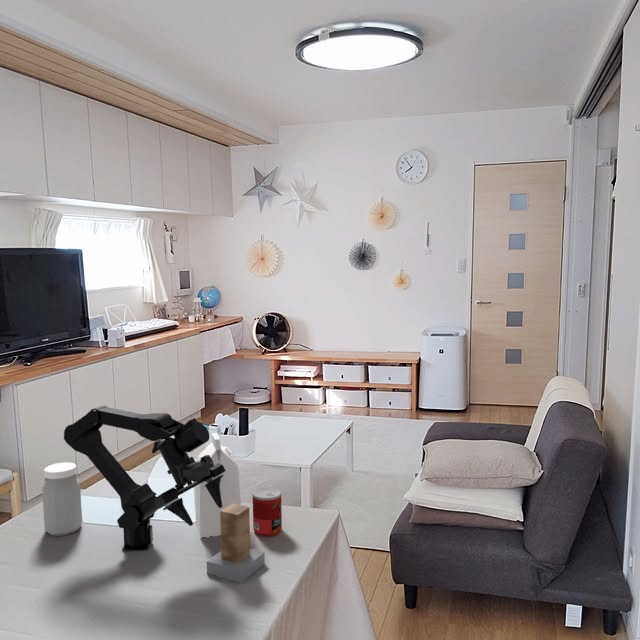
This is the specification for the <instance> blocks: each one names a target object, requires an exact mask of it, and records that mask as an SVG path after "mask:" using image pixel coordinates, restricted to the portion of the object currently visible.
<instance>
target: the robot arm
mask: <svg viewBox="0 0 640 640" xmlns="http://www.w3.org/2000/svg"><path fill="white" fill-rule="evenodd" d="M103 426H108V427H114V428H117V429H124V430H128V431H133V432H135V433H137V434H138V436H140V437H142V438H143V439H146V440H148V441H151V442H153V447H152V449H151V453H152V454H155V453H158V452H159V453H160V454H161V457H162V459H163V460H164V462H165V465H166V466H167V468H168V470H166V471H167V474H168V475H171V476H172V478H173V480H174V483H175V484H174V487H171V488H169V489H168V490H166V491H164V492H162V493H161V494H159V495H157V492H155V491H153V489H152V487H150V485H149V484H148V483H143V484H142V485H140V484H138V483H136V482H135V481H134V480H133V478H132V477H131V476H130V475H129V473H127V471H126V470H125V468H123V466H122V465H121V464H120V463H119V461H118V460H117V459H116V458H115V457H114V456H113V454H112V453H111V452H110V451H109V449H107V447H106V446H105V445H104V443H103V438H102V432H101V430H100V429H101V428H102V427H103ZM210 438H211V437H210V432H209V430H208V428H207V426H205V424H203V423H201V422H199V421H197V418H195V417H193V418H191V419H189V420H187V422H186V423H182V422H180V421H179V420H176V419H174V418H172V415H171V414H169V413H166V412H160V413H159V412H155V413H143V414H142V413H137V412H133V411H127V410H123V409H118V408H114V407H113V408H112V407H109V406H107V405H101V406H97V407H94V408H92V409H90V410H89V411H88V412H87V413H86V414H85V415H84V416H82V417H81V418H79V419H78V420H76V421H75V422H73V423H72V424H68V425H67V426H66V427H65V428H64V430H63V440H64V441H65V444H67V445H68V446H69V447H70V448H71V449H73V451H75V452H77V453H80V454H82V455H85V456H87V458H88V460H90V461H91V463H92V464H93V466H94V467H96V469H97V470H98V472H99V473H100V474H101V475H102V476H103V478H105V480H106V482H108V484H109V485H110V486H111V487H112V488H113V490H114V491H115V492H116V493H117V495H118V496H119V499H120V505H121V509H122V510H123V514H122V515H120V517H118V518H117V519H116V523H117V525H118V528H120V529H123V546H122V548H121V549H122V551H124V552H125V551H146V550H148V549H149V547H150V545H152V542H153V539H154V535H153V534H154V533H153V524H151V519H152V518H154V517H155V513H156V512H157V511H158V510H159V509H162V508H163V511H166V510H167V511H169V512H170V513H172V514H173V515H175V516H177V517H178V518H180V519H181V520H182V521H183V522H184V523H186V524H187V525H188V526H190V527H192V526H193V525H194V522H193V520H192V518H191V516H190V514H189V513H188V510H187V509H186V507H185V505H184V501H183V497H180V498H179V496H181V495H182V494H184V493H186V492H187V491H189V490H192V489H193V488H196V486H197V485H199V484H200V483H202V482H204V481H205V482H207V484H206V485H205V487H206V488H207V490H208V492H209V493H210V495H211V497H212V498H213V500H214V501H215V503H216V505H217V506H218V507H219V508H221V507H222V501H221V494H220V481H221V478H222V477H223V475H221V476H220V474H222V473H223V472H225V471H226V470H225V468H224V466H223V465H222V464H220V463H217V464H216V465H214V463H213V460H212V459H211V457H210V456H209V455H205V456H203V457H201V459H200V461H198V462H196V460H195V458H194V457H193V456H190V455H189V454H188V453H192V452H193V451H195V450H197V449H198V448H200V447H201V446H203V445H204V444H206V443H207V442H209V440H210ZM161 440H162V441H161Z"/></svg>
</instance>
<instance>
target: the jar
mask: <svg viewBox="0 0 640 640" xmlns="http://www.w3.org/2000/svg"><path fill="white" fill-rule="evenodd" d="M77 470H78V466H77V464H75V463H74V462H68V461H67V462H66V461H65V462H56V463H52V464H50V465H47V466H46V467H44V469H43V475H44V480H43V481H44V482H43V484H42V487H41V489H42V490H41V491H42V505H43V506H42V509H43V521H44V522H43V523H44V531H46V532H47V533H48V534H49V535H50V536H57V537H59V536H67V535H71V534H73V533H75V532H76V531H77V530H79V529H80V528H81V526H82V525H83V513H82V509H83V508H82V495H81V494H82V493H81V479H79V478H78V473H77Z"/></svg>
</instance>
